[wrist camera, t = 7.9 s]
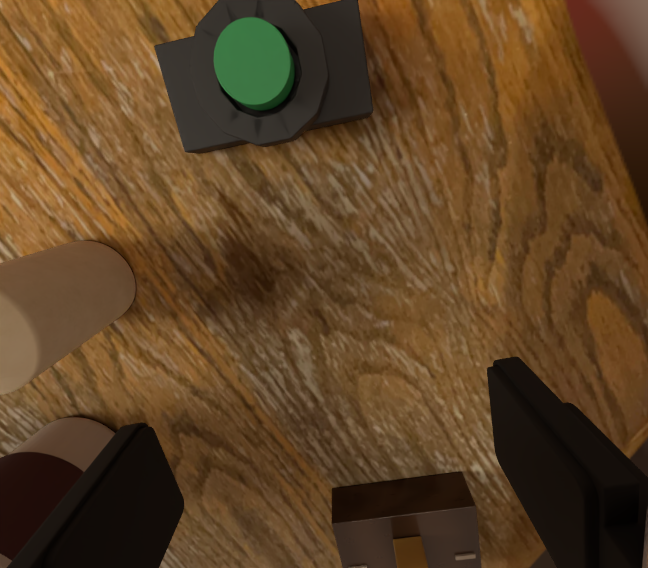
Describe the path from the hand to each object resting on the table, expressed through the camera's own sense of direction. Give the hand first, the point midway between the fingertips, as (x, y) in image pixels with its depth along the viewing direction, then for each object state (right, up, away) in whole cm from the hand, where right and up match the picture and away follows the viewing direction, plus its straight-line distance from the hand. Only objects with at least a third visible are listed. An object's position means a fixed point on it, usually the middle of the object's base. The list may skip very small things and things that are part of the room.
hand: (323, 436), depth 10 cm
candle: (-15, +4, +14) cm, 21 cm away
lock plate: (+6, -15, +20) cm, 26 cm away
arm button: (-3, +14, +7) cm, 16 cm away
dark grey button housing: (-3, +15, +10) cm, 18 cm away
